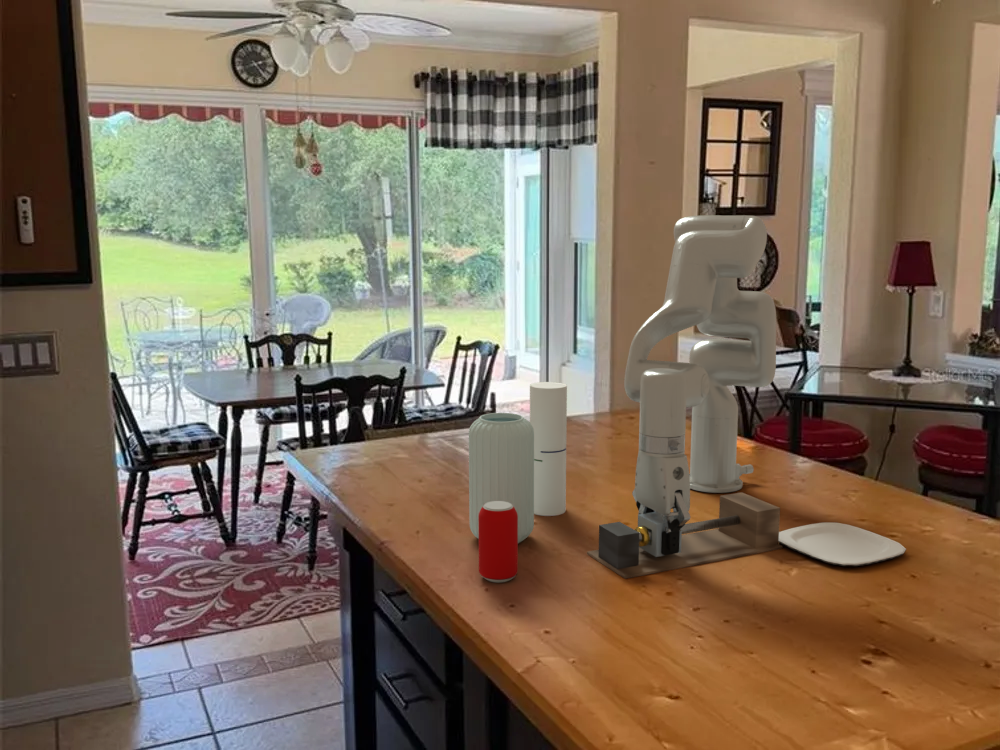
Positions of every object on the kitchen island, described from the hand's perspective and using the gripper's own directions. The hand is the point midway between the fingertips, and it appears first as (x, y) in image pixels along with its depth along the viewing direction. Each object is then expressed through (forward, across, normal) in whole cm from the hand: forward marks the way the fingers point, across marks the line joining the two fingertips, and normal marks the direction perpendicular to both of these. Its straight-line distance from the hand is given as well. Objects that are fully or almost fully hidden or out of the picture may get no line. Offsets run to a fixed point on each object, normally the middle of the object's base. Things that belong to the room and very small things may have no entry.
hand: (658, 546), depth 151 cm
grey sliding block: (+1, 0, 0) cm, 1 cm away
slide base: (+2, 0, -6) cm, 6 cm away
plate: (+2, -10, -30) cm, 32 cm away
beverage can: (+2, +3, +28) cm, 29 cm away
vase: (+2, +19, +20) cm, 28 cm away
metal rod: (-1, 0, -4) cm, 4 cm away
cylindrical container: (+2, +30, +6) cm, 31 cm away
